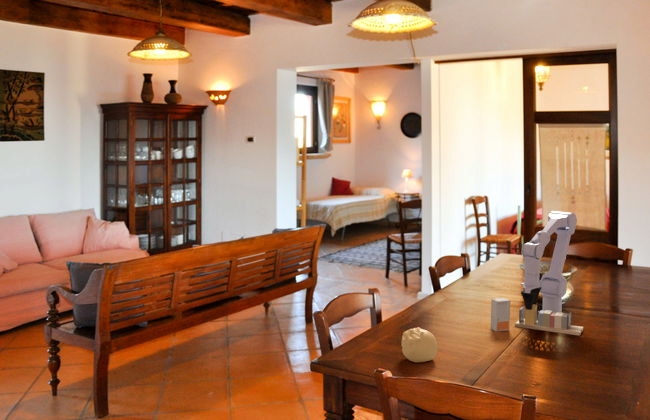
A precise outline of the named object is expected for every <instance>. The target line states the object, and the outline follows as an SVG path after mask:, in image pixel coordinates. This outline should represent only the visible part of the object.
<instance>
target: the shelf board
mask: <svg viewBox="0 0 650 420" xmlns="http://www.w3.org/2000/svg"><path fill="white" fill-rule="evenodd" d="M514 327H518V328H522V329H523V328H524V329H531V330H537V331H539V330H540V331H546V332H552V333H559V334H566V335H574V336H581V334H582V332H583V331H584V326H579V325H572V324H571V326H570V328H569V329H568V330H567V329H559V328H552V327H545V326H538V325H537V322H536V323H535V324H534V325H532V324H525V318H524V320H523V321H522V322H521V323H519V319H518V320H517V321H516V322H515V323H514Z"/></svg>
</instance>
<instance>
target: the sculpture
mask: <svg viewBox="0 0 650 420" xmlns="http://www.w3.org/2000/svg"><path fill="white" fill-rule="evenodd" d="M400 341H401V347H402V349H401V351H402V353H403V355H404V357H405V358H406V359H407V360H409V361H410V362H413V363H424V362H428V361H432V360H434V359H435V357H436V355H437V351H438V343H437V339H436V337H435V336H434V334H433V333H431V331H429V330H426V329H423V328H421V327H419V326H417V327H414V328H410V329H407V330H405V331H403V333H402V336H401V340H400Z"/></svg>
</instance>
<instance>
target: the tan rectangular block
mask: <svg viewBox="0 0 650 420" xmlns="http://www.w3.org/2000/svg"><path fill="white" fill-rule="evenodd" d="M524 319H525V324H532V325H534V324H535V323H536V322H537V321H538V304H537V303H536V304H533V306H532V310H527V309H526V308H525V307H524Z"/></svg>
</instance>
